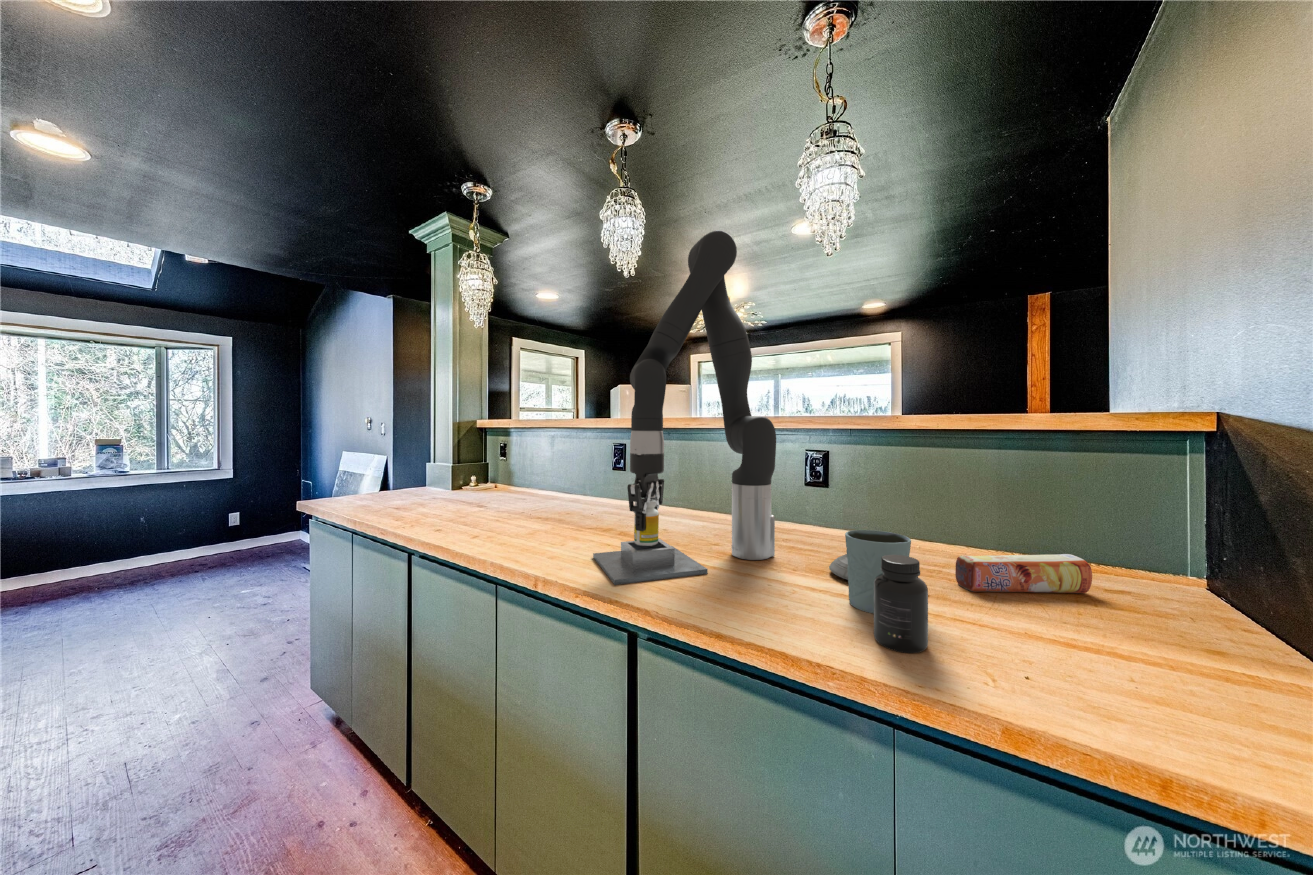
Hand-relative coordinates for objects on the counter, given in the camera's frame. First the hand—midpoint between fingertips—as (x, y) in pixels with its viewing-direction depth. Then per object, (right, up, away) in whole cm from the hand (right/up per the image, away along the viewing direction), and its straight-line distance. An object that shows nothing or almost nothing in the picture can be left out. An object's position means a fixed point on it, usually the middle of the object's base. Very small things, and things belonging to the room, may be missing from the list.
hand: (646, 527), depth 101 cm
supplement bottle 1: (0, -4, 0) cm, 4 cm away
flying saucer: (+46, -9, -8) cm, 47 cm away
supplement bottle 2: (+37, -9, -36) cm, 53 cm away
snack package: (+71, -9, -15) cm, 73 cm away
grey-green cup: (+40, -9, -22) cm, 47 cm away
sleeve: (0, -8, 0) cm, 8 cm away
